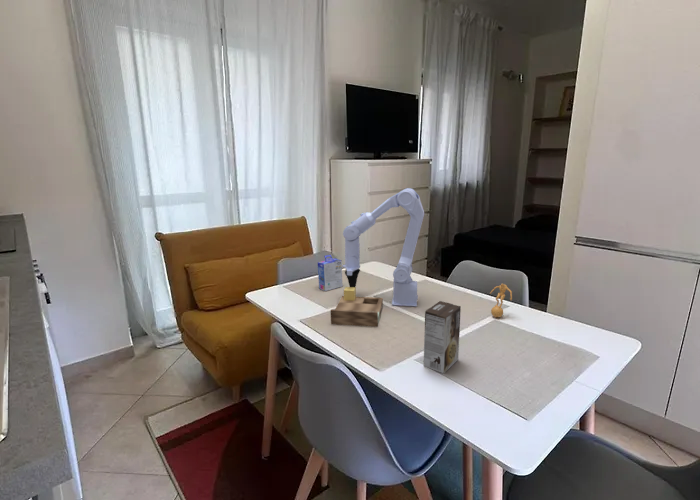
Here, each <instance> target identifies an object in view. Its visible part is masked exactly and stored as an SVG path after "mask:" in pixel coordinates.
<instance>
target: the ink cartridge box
mask: <svg viewBox="0 0 700 500" xmlns="http://www.w3.org/2000/svg"><path fill="white" fill-rule="evenodd" d="M342 262H343V261H342V260H341V259H338V258H336V257H335V258H333V257H332V255H331V254H328V255H324V260H321V261H318V262H317V276H318V289H320V290H322V291H324V292H327V291H330V290H334V289H338V288H342V287H343V267H342V266H343V263H342Z"/></svg>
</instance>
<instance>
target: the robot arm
mask: <svg viewBox="0 0 700 500" xmlns="http://www.w3.org/2000/svg"><path fill="white" fill-rule="evenodd" d="M399 207H401V208H403V209H404V210H405V211H406V212H407V213H408V215H409V217H410V219H409V223H408V226H407V231H406V234H405V238H404V242H403V245H402V250H401V254H400V258H399V260H398V263H397V265H396V268H395V269H394V270H393V273H392V275H393V276H392V277H393V282H392V283H393V292H392V294H393V295H392V296H393V297H392V299H391V306H399V307H400V306H401V307H403V306H404V307H417V306H418V305H417V304H418V299H419V298H418V297H419V295H418V281H416V280H413V278H412V277H411V274H412V273H413V265H412V264H413V259H414V254H415V251H416V247H417V242H418V240H419V237H420V232H421V229H422V224H423V220H424V217H425V211H424V207H423V204H422V200H421V198H420V195H419V194H418V193H417V191H416V190H415V189H414V188H410V187H408V188H407V187H406V188H404V189H402V190H400V191H399V192H397V193H396V194H394V195H392V196H390V197H388V198H387V199H386V200H384V201H383V202H382V203H381V204H380V205H379V206H378V207H376V208H375V209H373V211H372V212H369V211H368V212H367V211H366V212H362V213H361V214H359V215H360V216H359V217H358V218H356V219H355V220H352V221H351V222H350V224H349V225H347V226H346V227H345V228H344V229H343V232H342V235H343V237H344V254H345V255H344V256H345V257H344V258H345V259H344V263H345V264H342V269H343V268H344V269H345V271H344V275H345V276H346V279H347V282H348V285H349V286H348V287H356V288H357V282H358V277H359V273H360V271H361V265H360V263H361V262H360V258H361V257H360V256H361V255H360V248H361V247H360V236H361V235H362V234H364V233H365V232H366V231H368V230H370V229H371V228H372V227H373V226H375V225H376V220H377V219H378V218H379V217H381V216H382V215H383V214H385V213H386V212H388V211H389V210H390V209H392V208H393V209H394V208H399Z"/></svg>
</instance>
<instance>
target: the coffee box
mask: <svg viewBox="0 0 700 500" xmlns="http://www.w3.org/2000/svg"><path fill="white" fill-rule="evenodd" d="M461 311H462V309H461V305H456V304H453V303H449V302H445V301H441V300H440V301H437V303H435V304H434V305H432V306H431V307H429V308H428V309H426V310H425V311H424V339H423V341H424V344H423V345H424V346H423V367H425V368H427V369H431V370H433V371H435V372H439V373H442V374H445V373H447V371H448V370H449V369H450V368H451V367H452V366H453V365H454V364H455V363H456V362H457V361H458V360H459V353H460V352H459V350H460V348H459V347H460V331H461V330H460V328H461V326H460V325H461Z"/></svg>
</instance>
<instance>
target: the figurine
mask: <svg viewBox="0 0 700 500" xmlns="http://www.w3.org/2000/svg"><path fill="white" fill-rule="evenodd" d="M496 289H499V292H498V293H497V296H496V297H495V301H496V304H495V305H494V306H493V307H492V308H491V310H490V313H491V315H492V316H493V317H494V318H501V317H502V316H503V315H504V309H503V308H502V306H503V303H504V301H503V300H504V299H505V297H506V294H505V293H506V291H508V292H510V297H509V300H510V301H512V300H513V291H512V290H511V289H510V288H509V287H508V285H506V284H505V283H501V284H500V285H497V286H495V287H494V288H493V289H492V290H491V291H490V292H489V294H490V295H491V294H492V292H494V291H495V290H496ZM499 299H500V300H499ZM499 302H500V305H499Z"/></svg>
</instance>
